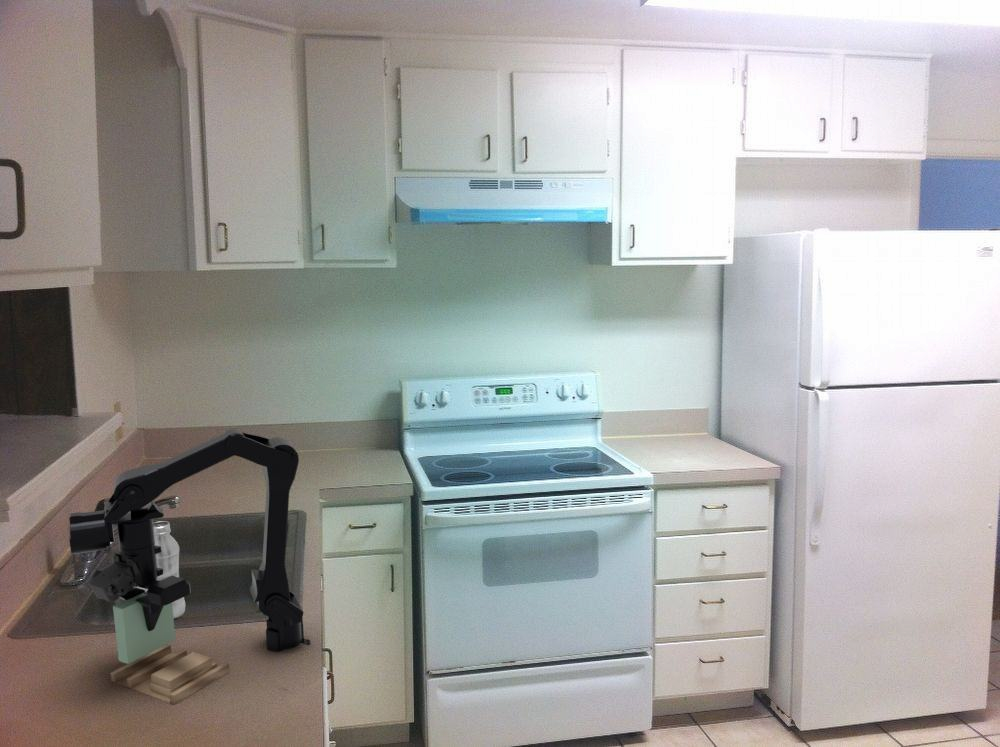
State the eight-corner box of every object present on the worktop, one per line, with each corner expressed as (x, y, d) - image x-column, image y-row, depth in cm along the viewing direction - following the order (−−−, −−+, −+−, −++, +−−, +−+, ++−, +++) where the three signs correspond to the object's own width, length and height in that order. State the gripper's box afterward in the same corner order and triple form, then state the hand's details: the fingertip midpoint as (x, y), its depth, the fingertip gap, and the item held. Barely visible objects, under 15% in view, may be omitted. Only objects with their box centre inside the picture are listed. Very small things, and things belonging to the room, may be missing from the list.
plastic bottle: (185, 623, 180) (176, 527, 176) (149, 627, 178) (139, 531, 175) (187, 609, 186) (179, 517, 183) (153, 614, 184) (143, 520, 181)
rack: (168, 656, 166) (167, 643, 166) (230, 676, 158) (229, 663, 158) (111, 686, 156) (110, 673, 156) (174, 709, 148) (173, 695, 148)
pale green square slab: (166, 636, 164) (161, 584, 162) (175, 639, 163) (170, 587, 161) (118, 660, 156) (112, 606, 154) (128, 664, 154) (122, 609, 152)
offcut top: (193, 659, 160) (193, 651, 159) (212, 665, 157) (211, 657, 157) (151, 682, 152) (150, 674, 152) (170, 689, 150) (169, 681, 150)
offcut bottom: (197, 665, 161) (196, 657, 161) (217, 671, 158) (216, 663, 158) (150, 691, 152) (150, 682, 152) (171, 698, 150) (170, 690, 150)
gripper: (60, 550, 154) (70, 636, 156) (133, 570, 144) (142, 660, 147) (117, 530, 163) (125, 611, 166) (188, 547, 154) (196, 632, 156)
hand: (145, 628), depth 158 cm, fingers closed on pale green square slab, 2 cm apart
